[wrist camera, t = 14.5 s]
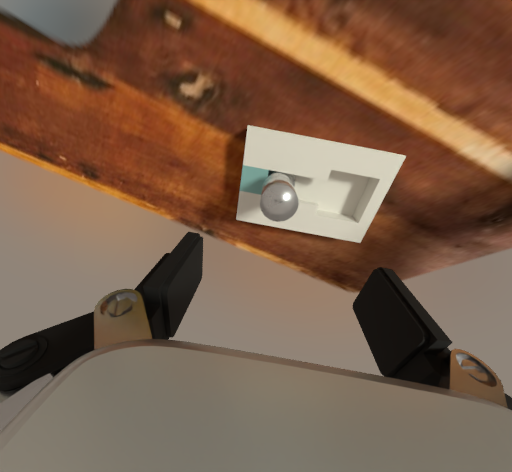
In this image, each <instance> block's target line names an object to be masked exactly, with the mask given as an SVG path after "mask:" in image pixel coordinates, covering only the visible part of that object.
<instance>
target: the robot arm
mask: <svg viewBox="0 0 512 472" xmlns="http://www.w3.org/2000/svg"><path fill="white" fill-rule="evenodd" d="M202 261H203V238H202V237H200V234H198V233H192V232H188V233H187V234H186V235H185V236H184V237H183V239H182V240H181V241H180V242H179V243H178V245H177V246H176V247H175V248H174V249H173V251H172V252H171V253H166V254H165V255H164V256H163V257H162V259H160V261H159V262H158V263H157V264H156V265H155V267H154V268H153V269H152V270H151V271H150V272H149V273H148V275H147V276H146V277H145V278H144V279H143V280H142V282H141V283H140V284H139V285H138V286H137V287H136V288H135V290H132V289H122V290H117V291H114V292H112V293H110V294H108V295H106V296H105V297H103V298H102V299H101V300H100V301H99V302H98V303H97V305H96V306H95V310H94V312H92V313H89V314H86V315H83V316H80V317H78V318H75V319H72V320H70V321H67V322H64V323H61V324H59V325H55V326H53V327H50V328H47V329H44V330H42V331H39V332H36V333H34V334H31V335H28V336H25V337H23V338H21V339H18V340H16V341H14V342H12V343H10V344H9V345H7V346H5V347H4V348H2V349H1V350H0V472H512V398H511V397H510V396H508V395H507V394H505V393H504V389H503V385H502V383H501V380H500V379H499V378H498V376H497V375H496V373H495V372H494V371H493V370H492V369H491V368H490V367H489V366H487V365H486V364H485V363H484V362H483V361H482V360H480V359H478V358H477V357H475V356H474V355H472V354H470V353H469V352H466V351H463V350H460V349H454V350H452V351H450V350H449V349H448V348H447V347H448V346H449V345H450V344H451V343H452V341H451V340H450V339H449V338H448V337H447V335H445V333H444V332H443V331H442V329H441V328H440V327H439V326H438V325H437V323H436V322H435V321H434V320H433V319H432V317H431V316H430V315H429V314H428V312H427V311H426V310H425V309H424V308H423V306H422V305H421V304H420V303H419V302H418V300H416V298H415V297H414V296H413V294H412V293H411V292H410V291H409V289H408V288H407V287H406V286H405V285H404V283H403V282H402V281H401V280H400V278H399V277H398V276H397V275H396V274H395V272H394V271H393V270H391V269H387V268H381V267H379V268H377V269H375V270H374V271H373V272H372V274H371V275H370V277H369V278H368V280H367V282H366V283H365V285H364V286H363V288H362V290H361V291H360V293H359V295H358V296H357V298H356V299H355V301H354V303H353V310H354V312H355V314H356V317H357V319H358V321H359V324H360V326H361V328H362V331H363V333H364V335H365V338H366V340H367V342H368V345H369V347H370V349H371V351H372V354H373V356H374V359H375V361H376V363H377V366H378V368H379V370H380V372H381V374H382V375H384V377H383V376H378V375H373V374H367V373H362V372H357V371H351V370H345V369H340V368H334V367H329V366H323V365H318V364H313V363H307V362H302V361H296V360H291V359H285V358H279V357H274V356H268V355H262V354H257V353H251V352H245V351H240V350H234V349H228V348H222V347H216V346H210V345H203V344H197V343H191V342H184V341H175V340H168V339H169V337H173V336H174V335H175V333H176V331H177V329H178V327H179V325H180V323H181V321H182V319H183V316H184V314H185V312H186V310H187V308H188V306H189V304H190V302H191V300H192V298H193V296H194V293H195V292H196V289H197V287H198V285H199V283H200V281H201V278H202Z"/></svg>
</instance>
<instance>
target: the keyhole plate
mask: <svg viewBox="0 0 512 472" xmlns="http://www.w3.org/2000/svg"><path fill="white" fill-rule="evenodd" d="M405 157H406V156H405V155H400V154H395V153H391V152H385V151H380V150H375V149H370V148H365V147H359V146H354V145H349V144H344V143H339V142H333V141H328V140H323V139H318V138H313V137H307V136H302V135H297V134H292V133H287V132H281V131H276V130H271V129H266V128H261V127H255V126H249V125H248V127H247V135H246V143H245V151H244V159H243V168H242V176H241V184H240V192H239V200H238V208H237V216H236V220H240V221H246V222H251V223H256V224H262V225H267V226H272V227H278V228H283V229H288V230H294V231H299V232H304V233H310V234H315V235H320V236H326V237H331V238H336V239H342V240H347V241H352V242H358V243H361V241H362V239H363V237H364V235H365V233H366V231H367V229H368V227H369V226H370V224H371V222H372V220H373V218H374V216H375V214H376V212H377V210H378V209H379V207H380V205H381V203H382V201H383V199H384V197H385V195H386V193H387V191H388V190H389V188H390V186H391V184H392V182H393V180H394V178H395V176H396V174H397V173H398V171H399V169H400V167H401V165H402V163H403V161H404V159H405ZM269 170H272V171H277V172H282V173H288V174H293V175H294V176H295V186H294V189H295V192H296V194H297V197H298V202H299V204H298V209H297V211H296V213H295V214H294V215H293V216H292V217H291V218H290V219H288V220H285V221H281V222H276V221H272V220H270V219H268V218H267V217H265V216H264V214H263V213H262V211H261V208H260V200H261V193H262V187H263V183H264V181H265V180H266V178H267V177H268V172H269Z"/></svg>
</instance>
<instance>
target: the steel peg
mask: <svg viewBox="0 0 512 472" xmlns="http://www.w3.org/2000/svg"><path fill="white" fill-rule="evenodd" d="M294 186H295V176H294V175H293V174H288V173H282V172H277V171H272V170H269V172H268V177H267V178H266V180H265V181H264V183H263V187H262V193H261V200H260V208H261V211H262V213H263V214H264V216H265V217H267V218H268V219H270V220H272V221H276V222H281V221H285V220H288V219H290V218H291V217H292V216H293V215H294V214H295V213H296V211H297V209H298V204H299V202H298V197H297V194H296V192H295V189H294Z"/></svg>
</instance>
